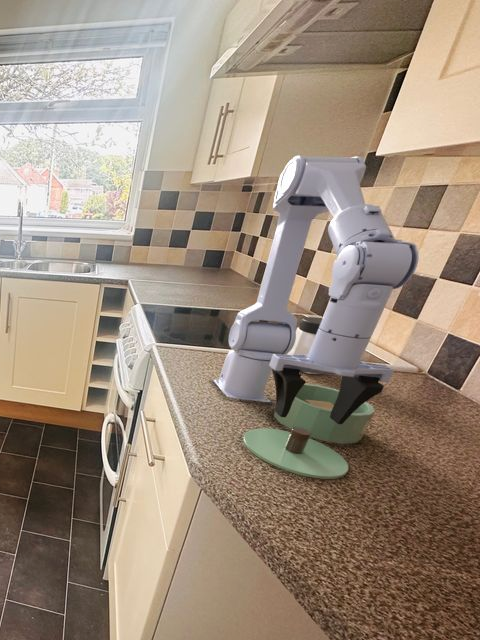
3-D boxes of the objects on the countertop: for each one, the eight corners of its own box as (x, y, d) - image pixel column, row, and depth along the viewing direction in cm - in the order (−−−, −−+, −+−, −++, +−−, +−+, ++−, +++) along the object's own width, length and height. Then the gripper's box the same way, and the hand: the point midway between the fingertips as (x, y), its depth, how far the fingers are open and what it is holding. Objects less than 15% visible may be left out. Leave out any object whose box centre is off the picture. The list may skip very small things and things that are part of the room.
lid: (229, 428, 74) (237, 405, 72) (315, 440, 71) (326, 416, 69) (262, 474, 62) (272, 447, 60) (367, 489, 59) (381, 462, 57)
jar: (307, 362, 108) (325, 317, 103) (335, 374, 100) (356, 326, 95) (275, 362, 107) (292, 316, 102) (301, 374, 99) (321, 326, 94)
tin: (261, 407, 82) (271, 379, 80) (333, 415, 80) (346, 387, 78) (292, 439, 71) (305, 409, 69) (377, 450, 69) (393, 419, 66)
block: (297, 418, 78) (305, 399, 76) (321, 421, 77) (330, 402, 75) (308, 429, 74) (317, 409, 72) (334, 432, 73) (343, 412, 72)
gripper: (300, 335, 56) (266, 423, 61) (427, 346, 53) (380, 437, 59) (276, 321, 62) (248, 402, 68) (388, 331, 60) (349, 414, 65)
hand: (307, 417), depth 64 cm, fingers open, 7 cm apart
